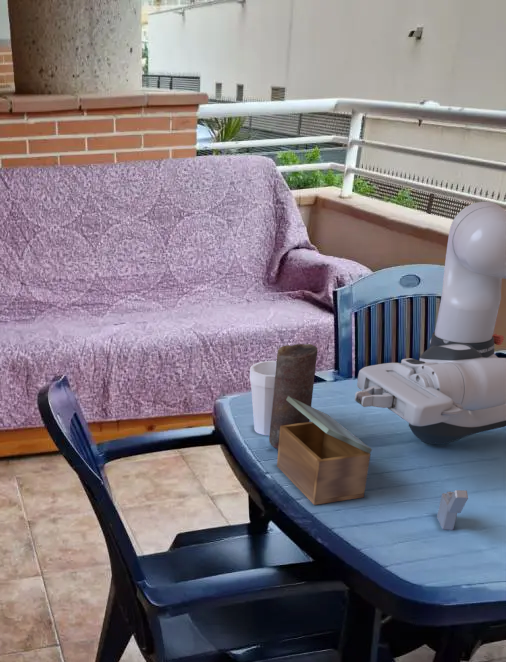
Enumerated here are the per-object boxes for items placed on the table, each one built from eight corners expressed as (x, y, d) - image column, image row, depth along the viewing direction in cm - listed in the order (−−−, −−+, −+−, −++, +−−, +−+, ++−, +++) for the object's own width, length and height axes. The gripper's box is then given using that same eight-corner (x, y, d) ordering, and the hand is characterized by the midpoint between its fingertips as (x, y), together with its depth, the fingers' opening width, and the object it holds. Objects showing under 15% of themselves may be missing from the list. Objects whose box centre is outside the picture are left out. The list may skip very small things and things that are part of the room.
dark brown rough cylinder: (307, 456, 142) (318, 354, 131) (268, 454, 143) (276, 353, 133) (306, 440, 148) (316, 341, 138) (268, 438, 150) (276, 340, 139)
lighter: (436, 516, 121) (446, 472, 117) (447, 516, 121) (458, 472, 116) (446, 539, 115) (456, 493, 111) (458, 539, 115) (469, 494, 111)
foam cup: (295, 422, 156) (301, 362, 149) (290, 440, 148) (296, 378, 142) (250, 418, 159) (253, 359, 152) (242, 436, 151) (246, 374, 144)
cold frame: (314, 505, 126) (319, 461, 122) (276, 466, 139) (280, 425, 135) (363, 497, 127) (370, 454, 123) (322, 459, 141) (327, 419, 136)
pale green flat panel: (326, 433, 119) (329, 429, 119) (285, 399, 132) (288, 395, 132) (369, 453, 123) (372, 449, 123) (326, 418, 136) (328, 415, 136)
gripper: (465, 429, 122) (387, 440, 120) (399, 387, 139) (330, 396, 137) (473, 393, 119) (393, 403, 117) (404, 355, 136) (334, 363, 134)
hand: (358, 399), depth 127 cm, fingers closed
